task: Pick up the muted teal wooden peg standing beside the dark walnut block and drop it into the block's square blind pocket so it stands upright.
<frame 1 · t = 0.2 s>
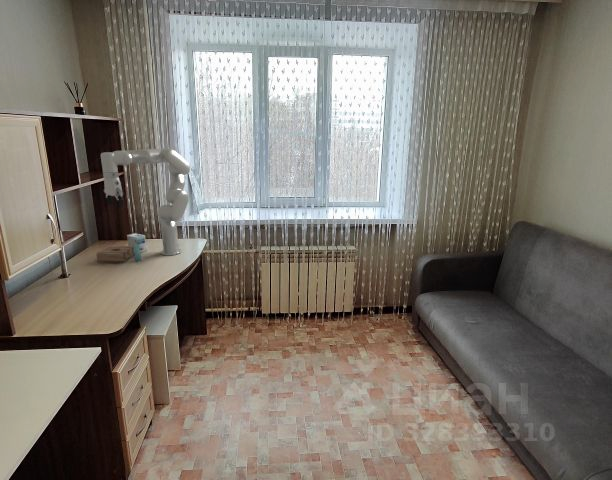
hand: (115, 205, 225), 36 cm above the table, tool pointing down, fingers open, 9 cm apart
light bulb box: (138, 251, 264), on the table
walnut socket block: (117, 258, 248), on the table
teal peg: (138, 260, 244), on the table
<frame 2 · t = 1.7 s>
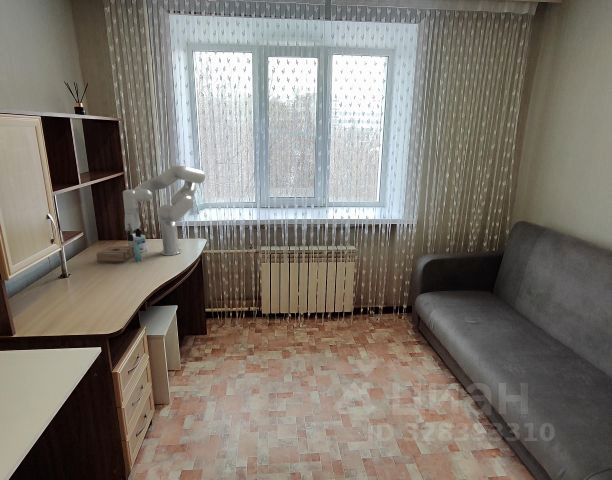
hand: (134, 238, 240), 14 cm above the table, tool pointing down, fingers open, 9 cm apart
nothing on the table moved.
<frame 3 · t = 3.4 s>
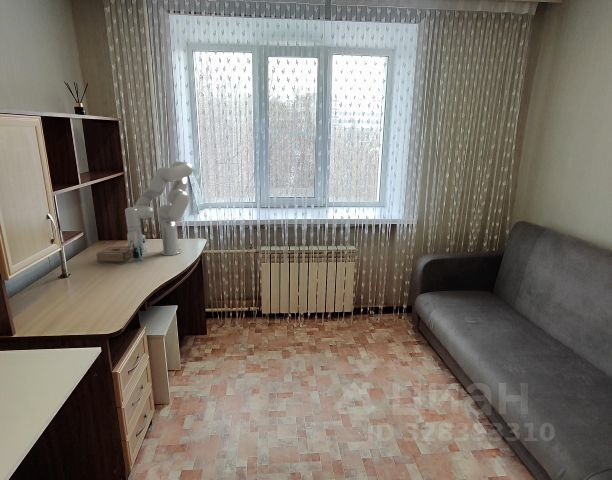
hand: (137, 256, 243), 3 cm above the table, tool pointing down, fingers closed on teal peg, 3 cm apart
teal peg: (138, 260, 244), on the table, touching gripper
everything else where it was.
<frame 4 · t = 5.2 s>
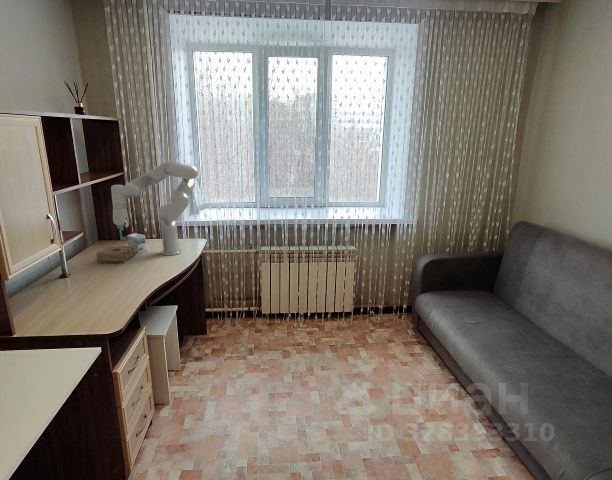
hand: (123, 235, 241), 16 cm above the table, tool pointing down, fingers closed on teal peg, 3 cm apart
teal peg: (123, 239, 242), point 13 cm above the table, touching gripper
everything else where it was.
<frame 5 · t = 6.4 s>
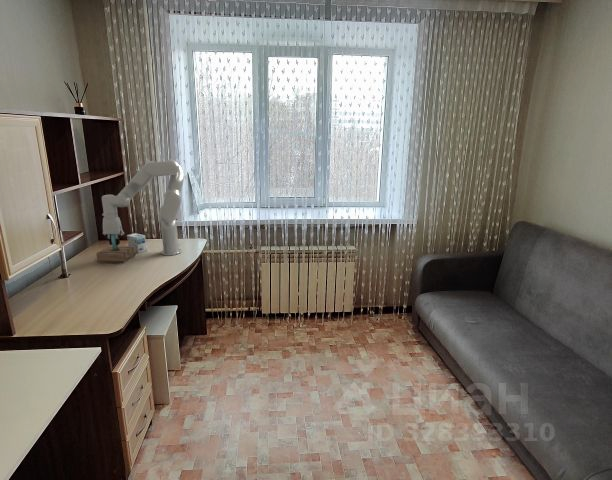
hand: (114, 244, 245), 10 cm above the table, tool pointing down, fingers closed on teal peg, 3 cm apart
teal peg: (115, 248, 246), point 7 cm above the table, touching gripper
everything else where it was.
when the fingers open (7 cm above the table, at t = 7.2 s): teal peg drops 3 cm, resting on walnut socket block.
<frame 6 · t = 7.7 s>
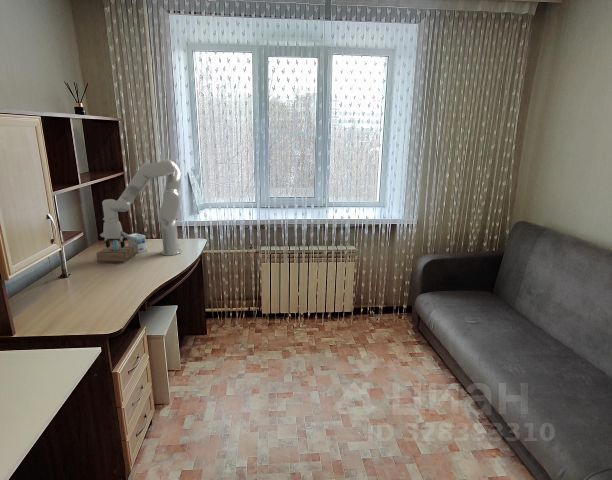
hand: (115, 247, 246), 8 cm above the table, tool pointing down, fingers open, 8 cm apart
teal peg: (117, 256, 248), point 2 cm above the table, touching walnut socket block
everything else where it was.
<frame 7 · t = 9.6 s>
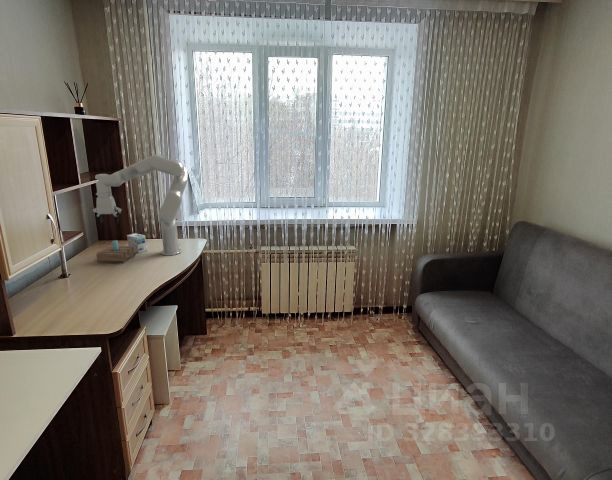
hand: (109, 222, 243), 23 cm above the table, tool pointing down, fingers open, 9 cm apart
nothing on the table moved.
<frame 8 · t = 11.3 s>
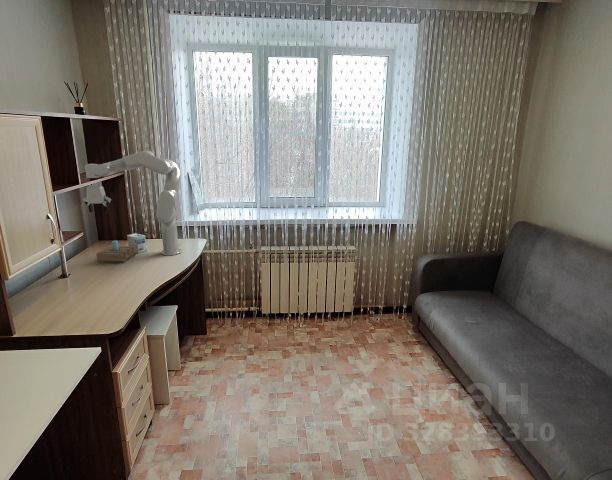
hand: (98, 212, 247), 28 cm above the table, tool pointing down, fingers open, 9 cm apart
nothing on the table moved.
at the end: teal peg 0.1 cm off-centre on the walnut socket block, point 1.5 cm above the walnut socket block's base; teal peg tilted 1°; the gripper is holding nothing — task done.
